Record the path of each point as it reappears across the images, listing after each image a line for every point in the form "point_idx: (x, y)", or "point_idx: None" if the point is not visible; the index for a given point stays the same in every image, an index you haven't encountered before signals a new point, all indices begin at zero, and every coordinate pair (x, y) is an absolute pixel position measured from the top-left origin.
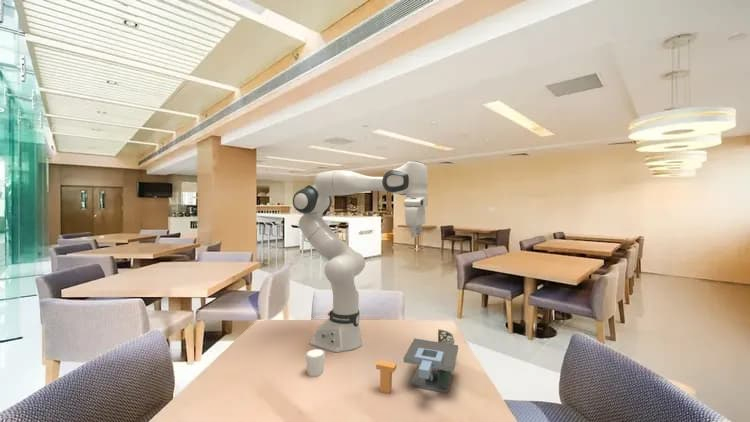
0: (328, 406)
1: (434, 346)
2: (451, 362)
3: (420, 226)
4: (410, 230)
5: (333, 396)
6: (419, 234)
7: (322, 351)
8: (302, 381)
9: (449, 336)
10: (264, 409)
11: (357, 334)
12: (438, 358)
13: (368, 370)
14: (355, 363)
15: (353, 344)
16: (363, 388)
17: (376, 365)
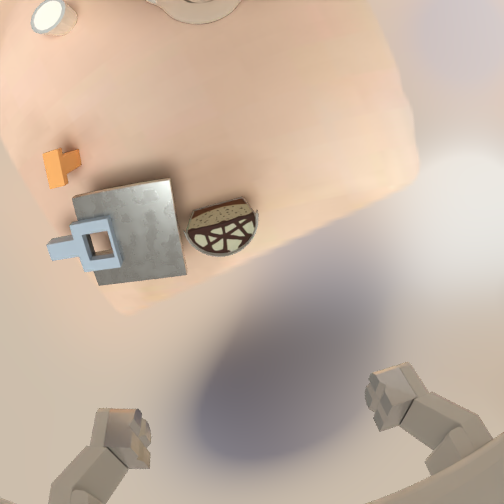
0: (5, 112)
1: (152, 235)
2: (109, 279)
3: (430, 460)
4: (66, 469)
5: (23, 100)
6: (369, 400)
7: (58, 19)
8: None
9: (237, 243)
10: None
11: (196, 10)
12: (90, 266)
13: (109, 96)
14: (121, 58)
15: (178, 15)
16: (58, 124)
17: (43, 154)
